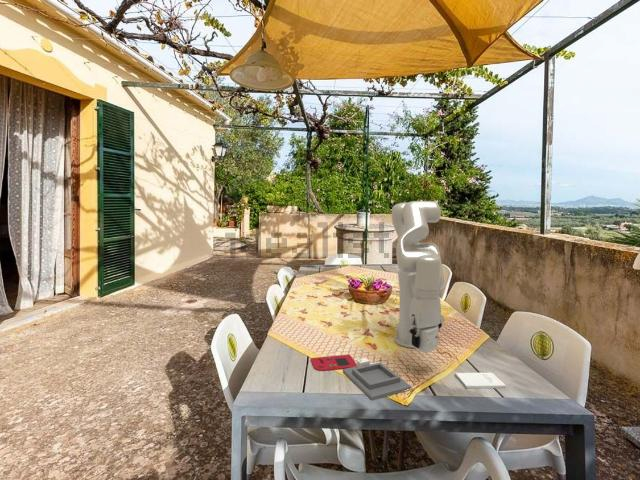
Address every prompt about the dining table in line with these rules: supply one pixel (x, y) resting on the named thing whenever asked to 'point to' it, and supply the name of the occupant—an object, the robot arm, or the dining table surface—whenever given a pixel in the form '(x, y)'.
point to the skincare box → (428, 339)
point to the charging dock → (375, 379)
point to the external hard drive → (479, 380)
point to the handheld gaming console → (333, 362)
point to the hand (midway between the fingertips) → (424, 343)
